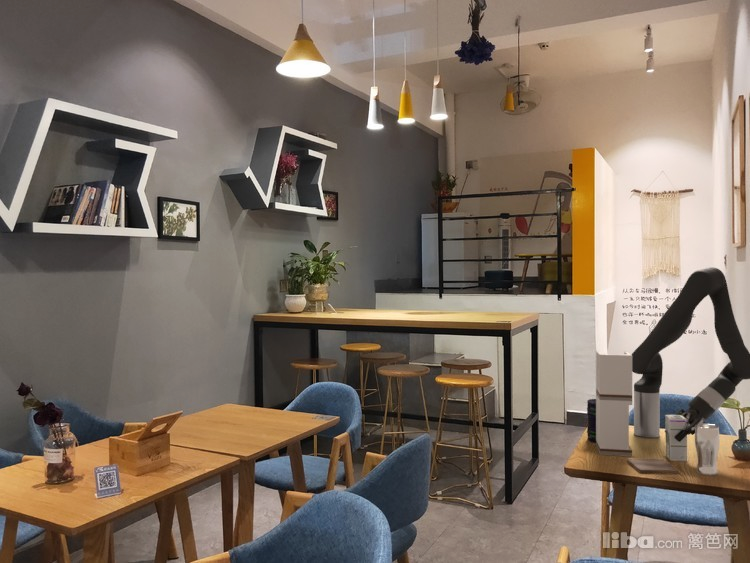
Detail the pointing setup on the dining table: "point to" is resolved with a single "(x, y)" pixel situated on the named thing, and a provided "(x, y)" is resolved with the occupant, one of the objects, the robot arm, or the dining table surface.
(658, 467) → the walnut board
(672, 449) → the syrup box
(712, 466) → the beer glass
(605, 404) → the white stacked pillar
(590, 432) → the storage jar
